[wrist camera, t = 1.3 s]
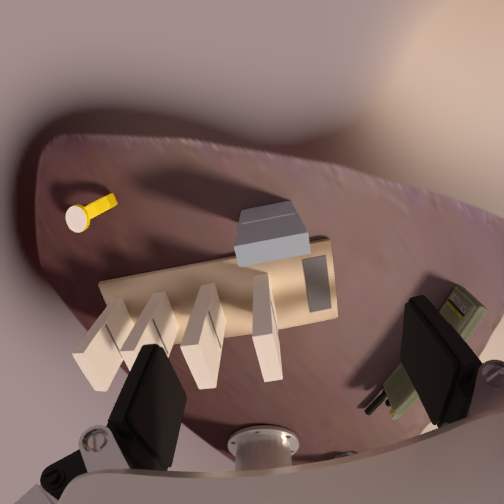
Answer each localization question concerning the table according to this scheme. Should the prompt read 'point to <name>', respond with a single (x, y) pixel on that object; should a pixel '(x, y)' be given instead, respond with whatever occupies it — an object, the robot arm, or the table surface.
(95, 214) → the yellow wristwatch
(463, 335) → the handheld radio
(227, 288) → the board
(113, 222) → the table surface
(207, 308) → the domino
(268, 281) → the domino
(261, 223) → the domino
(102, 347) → the domino
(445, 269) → the table surface
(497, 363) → the robot arm
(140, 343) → the domino
